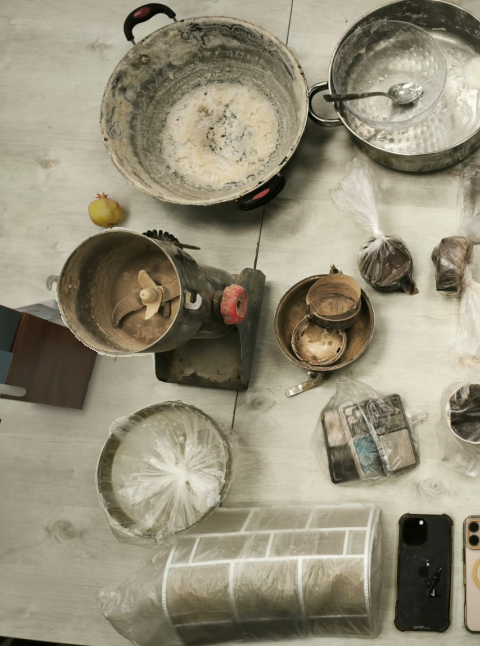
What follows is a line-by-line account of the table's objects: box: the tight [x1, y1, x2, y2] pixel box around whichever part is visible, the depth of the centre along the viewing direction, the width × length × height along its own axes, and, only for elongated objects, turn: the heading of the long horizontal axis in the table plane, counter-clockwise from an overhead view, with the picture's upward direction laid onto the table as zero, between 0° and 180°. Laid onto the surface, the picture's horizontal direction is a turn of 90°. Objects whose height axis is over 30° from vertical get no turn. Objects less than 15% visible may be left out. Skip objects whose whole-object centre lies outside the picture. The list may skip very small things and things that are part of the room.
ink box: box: [13, 299, 63, 320], centre depth 119 cm, size 2×11×10 cm, turn 104°
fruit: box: [87, 191, 124, 230], centre depth 126 cm, size 7×7×10 cm
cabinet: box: [0, 304, 99, 410], centre depth 105 cm, size 10×16×34 cm, turn 173°
